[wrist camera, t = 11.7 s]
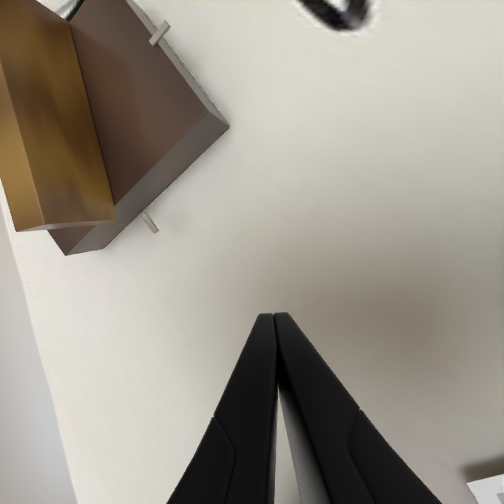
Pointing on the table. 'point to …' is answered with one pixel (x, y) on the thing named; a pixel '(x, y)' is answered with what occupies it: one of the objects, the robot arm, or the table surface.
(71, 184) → the tan wooden plank
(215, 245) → the table surface
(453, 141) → the table surface
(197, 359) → the table surface
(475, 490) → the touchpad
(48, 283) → the table surface
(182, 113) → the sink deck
